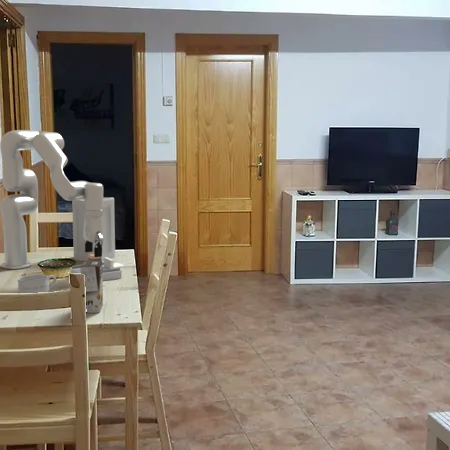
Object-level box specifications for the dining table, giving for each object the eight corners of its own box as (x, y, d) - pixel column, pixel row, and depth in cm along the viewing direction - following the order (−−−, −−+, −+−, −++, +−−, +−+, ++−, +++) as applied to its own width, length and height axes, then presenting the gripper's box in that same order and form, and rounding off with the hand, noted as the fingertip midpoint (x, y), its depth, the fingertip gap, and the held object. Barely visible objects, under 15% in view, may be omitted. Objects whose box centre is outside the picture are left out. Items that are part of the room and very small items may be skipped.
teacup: (21, 303, 221) (20, 281, 220) (16, 296, 231) (15, 274, 229) (61, 299, 228) (60, 277, 226) (54, 292, 237) (53, 271, 236)
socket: (69, 275, 263) (69, 265, 263) (105, 270, 272) (105, 261, 272) (84, 283, 250) (84, 273, 250) (121, 278, 259) (121, 268, 259)
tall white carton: (73, 263, 286) (71, 202, 281) (74, 256, 300) (72, 198, 295) (116, 261, 290) (115, 201, 285) (114, 255, 304) (113, 197, 299)
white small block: (103, 265, 267) (103, 257, 266) (117, 264, 270) (117, 255, 270) (110, 268, 261) (110, 260, 260) (124, 267, 264) (124, 258, 264)
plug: (98, 274, 264) (97, 253, 263) (102, 277, 261) (101, 255, 259) (88, 276, 262) (88, 254, 260) (92, 278, 259) (92, 256, 257)
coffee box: (100, 313, 212) (99, 266, 209) (81, 313, 211) (79, 266, 208) (103, 305, 221) (102, 260, 218) (84, 305, 220) (83, 260, 217)
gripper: (77, 210, 262) (76, 250, 265) (93, 217, 248) (93, 259, 251) (94, 209, 266) (93, 249, 269) (111, 216, 252) (110, 257, 255)
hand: (93, 254), depth 260 cm, fingers open, 9 cm apart
